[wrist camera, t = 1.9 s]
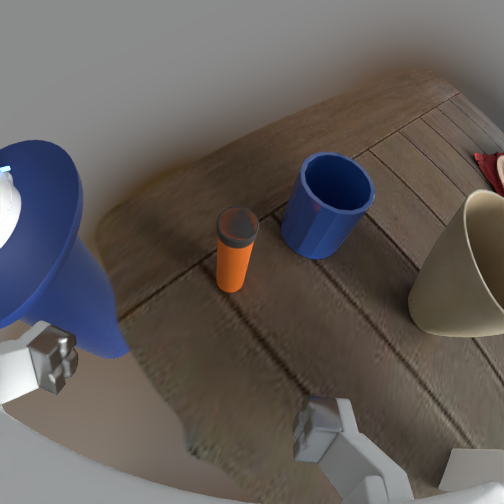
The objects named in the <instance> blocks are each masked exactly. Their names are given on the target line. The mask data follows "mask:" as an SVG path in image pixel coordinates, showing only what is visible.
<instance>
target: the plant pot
mask: <svg viewBox="0 0 504 504" xmlns="http://www.w3.org/2000/svg"><path fill="white" fill-rule="evenodd" d="M408 308H409V312H410V315H411V318H412V320H413V321H414V323H415V324H416V325H417V326H418V327H419V328H420V329H421V330H423V331H424V332H427V333H431V334H436V335H443V336H452V337H479V336H490V335H497V334H503V333H504V198H503V197H502V196H500V195H498V194H497V193H494V192H492V191H489V190H484V189H479V190H475V191H473V192H472V193H470V194H469V196H468V197H467V198H466V200H465V201H464V203H463V204H462V206H461V207H460V208H459V210H458V211H457V213H456V214H455V215H454V217H453V218H452V220H451V221H450V222H449V224H448V225H447V227H446V228H445V230H444V231H443V233H442V234H441V236H440V237H439V239H438V240H437V242H436V244H435V245H434V247H433V248H432V250H431V252H430V253H429V255H428V257H427V258H426V260H425V262H424V264H423V266H422V267H421V269H420V271H419V273H418V275H417V277H416V279H415V281H414V283H413V285H412V288H411V290H410V292H409V296H408Z"/></svg>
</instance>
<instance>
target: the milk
mask: <svg viewBox="0 0 504 504" xmlns="http://www.w3.org/2000/svg"><path fill="white" fill-rule="evenodd" d="M488 481H497V482H499V483H501V484H503V485H504V450H482V449H459V448H452V451H451V454H450V457H449V460H448V463H447V466H446V469H445V472H444V474H443V477H442V480H441V482H440V485H439V487H438V489H440V490H445V491H449V492H453V491H457V490H461V489H464V488H468V487H471V486H475V485H478V484H481V483H484V482H488Z"/></svg>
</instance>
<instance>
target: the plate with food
mask: <svg viewBox="0 0 504 504" xmlns="http://www.w3.org/2000/svg"><path fill="white" fill-rule="evenodd" d="M475 158H476V160H477V161H478V164H480V165H478V166H479V167H480V169H481V170H482V171H483V173H484V174H485V177H486V178H487V180H488V181H489V182H491V184H493V186H494V188H495V190H496V192H497V194H498V195H500V196H502V197H503V198H504V153H498V152H497V153H495V154H494V155H487V154H481V156H480V155H479V153H475Z"/></svg>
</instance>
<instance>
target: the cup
mask: <svg viewBox="0 0 504 504" xmlns="http://www.w3.org/2000/svg"><path fill="white" fill-rule="evenodd" d="M374 196H375V189H374V185H373V182H372V179H371V178H370V176H369V175H368V173H367V172H366V171H365V169H364V168H363V167H362V166H360V165H359V164H358V163H357V162H355V161H354V160H353V159H351V158H348V157H346V156H344V155H342V154H339V153H333V152H320V153H315V154H312V155H311V156H310V157H308V158H307V159H305V160H304V162H303V164H302V166H301V169H300V171H299V174H298V177H297V179H296V182H295V185H294V188H293V190H292V193H291V196H290V199H289V201H288V204H287V207H286V209H285V212H284V215H283V218H282V222H281V232H282V235H283V238H284V240H285V242H286V243H287V245H288V246H289V247H290V248H291V249H292V250H293V251H294V252H296V253H297V254H299V255H301V256H303V257H306V258H310V259H323V258H327V257H329V256H331V255H332V254H334V253H335V252H336V251H337V250H338V248H339V247H340V246H341V245H342V244H343V243H344V241H345V240H346V239H347V237H348V236H349V235H350V233H351V232H352V231H353V229H354V228H355V227H356V225H357V224H358V223H359V221H360V220H361V219H362V217H363V216H364V215H365V213H366V212H367V211H368V209H369V208H370V206H371V205H372V204H373V201H374Z"/></svg>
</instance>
